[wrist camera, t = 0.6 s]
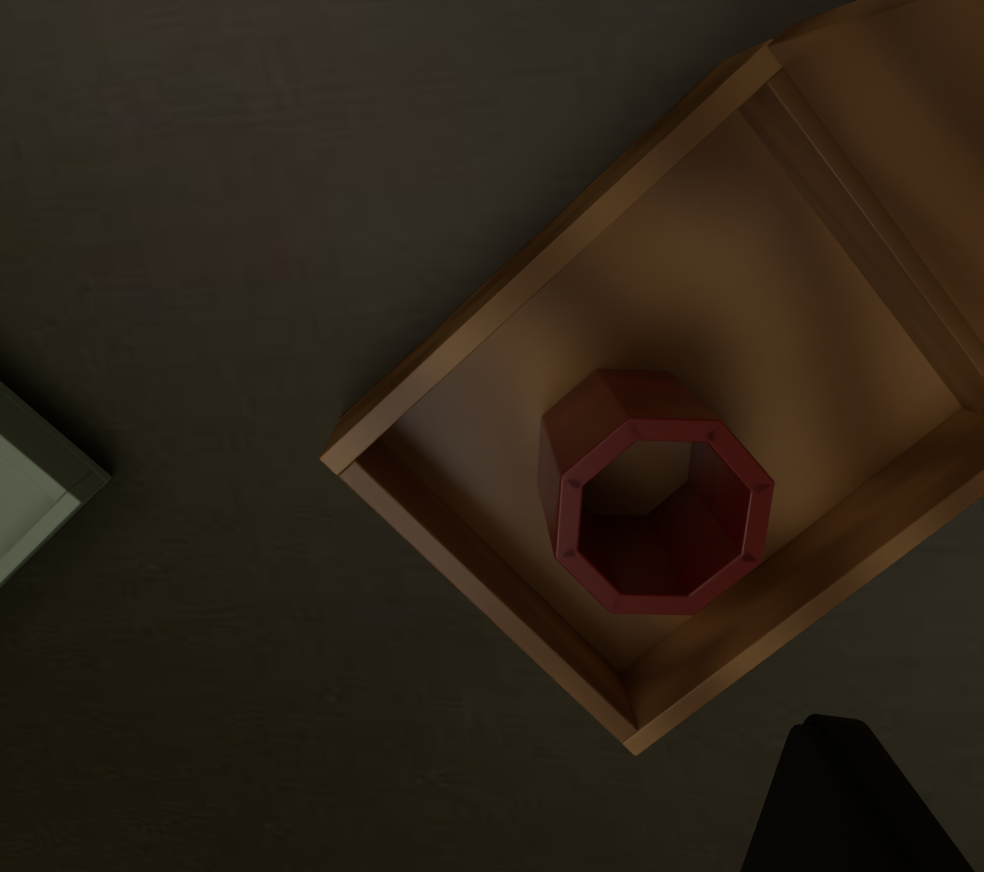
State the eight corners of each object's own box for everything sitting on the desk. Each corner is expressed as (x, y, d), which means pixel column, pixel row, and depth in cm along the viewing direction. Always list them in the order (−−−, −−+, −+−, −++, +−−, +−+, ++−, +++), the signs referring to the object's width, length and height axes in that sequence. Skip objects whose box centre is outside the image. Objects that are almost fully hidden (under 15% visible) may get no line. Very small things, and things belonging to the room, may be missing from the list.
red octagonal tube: (503, 449, 29) (512, 517, 23) (636, 332, 27) (681, 373, 22) (613, 562, 30) (648, 652, 24) (744, 456, 29) (812, 525, 23)
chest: (614, 685, 33) (635, 757, 29) (339, 418, 29) (318, 458, 25) (978, 402, 30) (1061, 438, 25) (723, 59, 26) (772, 37, 22)
